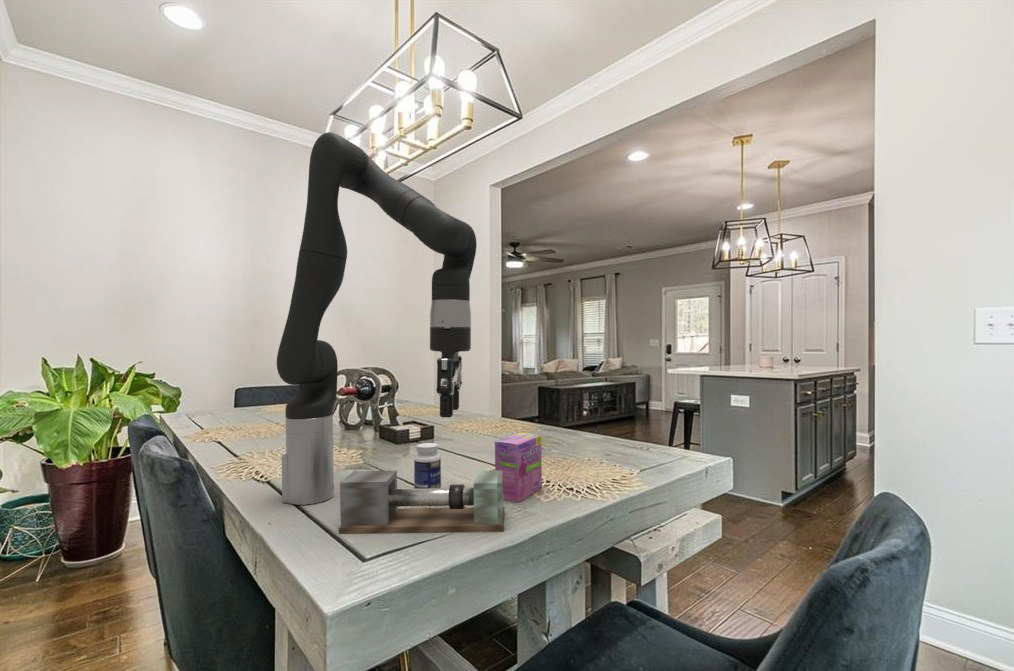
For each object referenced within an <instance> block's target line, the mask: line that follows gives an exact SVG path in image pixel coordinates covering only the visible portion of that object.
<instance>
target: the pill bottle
mask: <svg viewBox="0 0 1014 671" xmlns="http://www.w3.org/2000/svg"><path fill="white" fill-rule="evenodd" d="M438 451H439V444H438V443H434V442H426V443H425V442H424V443H419V444H417V445H416V452H417V454H416V455H415V456H414V463H413V464H414V474H413V475H414V476H413V477H414V479H413V480H414V481H413V483H414V486H413V487H414V488H413V489H422V488H442V474H441V469H442V468H441V464H442V463H441V455H440V454H439V453H438Z"/></svg>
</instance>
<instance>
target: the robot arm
mask: <svg viewBox="0 0 1014 671" xmlns="http://www.w3.org/2000/svg"><path fill="white" fill-rule="evenodd" d="M310 152H311V153H310V157H309V164H308V165H309V166H308V181H307V182H308V183H307V196H306V197H307V199H306V208H305V215H304V222H303V224H304V225H303V229H302V230H303V231H302V236H301V242H300V245H299V251H298V256H297V262H296V268H295V270H296V271H295V278H294V283H293V288H292V295H291V297H290V298H291V299H290V305H289V310H288V314H287V318H286V322H285V325H284V328H283V332H282V336H281V340H280V343H279V346H278V351H277V356H276V369H277V373H278V375H279V377H280V379H281V380H282V381H283V382H284V383H286V384H288V385H292V386H298V390H297V393H296V394H295V396H294V397H293V398H292V399H291V400H289V402H288V403H286V405H285V454H283V455H282V456H281V493H282V494H281V503H287V504H291V505H300V506H301V505H311V504H317V503H321V502H325V501H328V500H330V499H331V498H333V496H334V495H335V481H334V480H335V476H334V475H335V474H334V472H335V471H334V468H335V466H334V415H333V414H334V406H335V403H336V401H337V396H338V395H337V394H338V374H339V373H338V371H339V370H338V369H339V368H338V357H337V354H336V350H335V349H334V347H333V346H332V345H331V343H329V342H327V341H324V340H322V339H321V340H320V339H318V337H319V332H320V326H321V323H322V320H323V317H324V315H325V313H326V311H327V309H328V308H329V307H330V305H331V303H332V301H334V298H335V297H336V295H337V294H338V292H339V290H340V288H341V286H342V283H343V281H344V276H345V270H346V264H347V259H348V246H347V245H348V244H347V241H346V237H345V232H344V228H343V226H342V222H341V218H340V213H339V206H338V205H339V193H340V188H342V189H346V190H350V191H353V192H355V193H357V194H360V195H362V196H364V197H366V198H368V199H370V200H372V201H373V202H374V203H376V205H378V207H379V208H381V210H382V211H383V212H384V213H385V214H386V215H387V216H388V217H390V218H391V219H392V220H393V221H395V222H396V223H398V224H399V225H400V226H402V227H403V228H404V229H407V230H408V231H409V232H411V233H412V234H413V235H414V236H415V237H416V238H417V239H418V240H419V241H420V242H421V243H422V244H423V245H424V246H426V247H427V248H429V249H430V250H432V251H433V252H435V253H437V254H440V255H443V261H442V265H441V268H439V269H436V270H434V272H433V274H432V277H431V304H430V313H429V314H430V315H429V349H430V351H432V352H440V353H441V358H439V357H438V358H437V360H436V365H437V367H436V368H437V369H436V390H435V391H436V393H437V394H438V396H439V416H440V417H441V418H452V417H453V416H454V415H453V414H454V411H458V410H459V408H460V390H461V386H462V383H463V381H462V378H463V375H462V369H463V358H462V356H461V355H459V353H461V352H470V351H471V348H472V347H471V345H472V344H471V343H472V342H471V341H472V340H471V339H472V338H471V336H472V335H471V334H472V331H471V330H472V328H471V326H472V313H471V312H472V311H471V303H470V299H471V298H470V296H471V295H470V293H471V292H470V290H471V288H470V286H471V284H470V279H471V274H472V272H473V267H474V262H475V258H476V253H477V237H476V233H475V230H474V229H473V227H472V226H471V225H470V224H468V223H467V222H465V221H463V220H460V219H459V218H456V217H454V216H452V215H451V214H449V213H446V212H445V211H443V210H442V209H441V208H439V207H437V206H436V205H435V204H434V202H432V201H431V200H430V199H428V198H427V197H425V196H424V195H422V194H421V193H419V191H417V190H415V189H414V188H412V187H410V186H408V185H406V184H405V183H403V182H401V181H399V180H398V179H395V178H394V177H392V176H390V174H388V173H386V171H384V170H383V169H382V168H381V167H380V166H379V165H378V164H377V163H376V162H375V161H374V160H373V159H372V158H371V157H370V156H369V155H368V154H367V153H366V151H364V149H362V147H360V146H358V145H356V144H355V143H354V142H353V143H352V142H351V141H350V140H348V139H347V138H345V137H343V136H341V135H339V134H337V133H334V132H330V131H329V132H323V134H321V135H319V136H318V137H317V139H316V140H315V142H314V144H313V146H312V149H311V151H310Z"/></svg>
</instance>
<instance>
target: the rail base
mask: <svg viewBox="0 0 1014 671" xmlns="http://www.w3.org/2000/svg"><path fill="white" fill-rule="evenodd" d="M473 488H474V505H473V507H472V506H471V507H470V506H469V507H464V509H449V507H422V508H421V507H416V508H415V507H412V508H411V507H410V508H408V507H407V508H405V507H404V508H398V507H389V496H388V494H389V490H390V489H398V471H397V470H393V469H392V470H354V471H352V472H351V473H350V474H349V475H348V476H346V477H344V479H343V480H341V481H340V482H339V491H340V492H339V497H340V498H339V502H340V504H339V507H340V526H339V527H338V535H348V534H350V535H353V534H357V535H358V534H417V533H418V534H421V533H430V534H431V533H432V534H433V533H481V532H482V533H483V532H485V533H486V532H487V533H489V532H491V533H493V532H496V533H497V532H498V533H499V532H504V531H505V513H506V511H505V508H506V507H505V506H504V500H503V470H495V469H494V470H476V474H475V477H474V481H473Z"/></svg>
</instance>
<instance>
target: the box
mask: <svg viewBox="0 0 1014 671" xmlns="http://www.w3.org/2000/svg"><path fill="white" fill-rule="evenodd" d="M494 461H495V462H494V470H503V501H507V502H512V503H520V502H521V501H523V500H525V499H526V498H528V497H529V496H531V495H533V494H535V493H536V492H539V490H541V489H543V480H542V479H543V478H542V477H543V476H542V473H543V472H542V471H543V470H542V469H543V468H542V466H543V465H542V434H537V433H536V434H535V433H528V432H518V433H515V434H513V435H509V436H508V437H505V438H502V439H499V440H496V441H494Z"/></svg>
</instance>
